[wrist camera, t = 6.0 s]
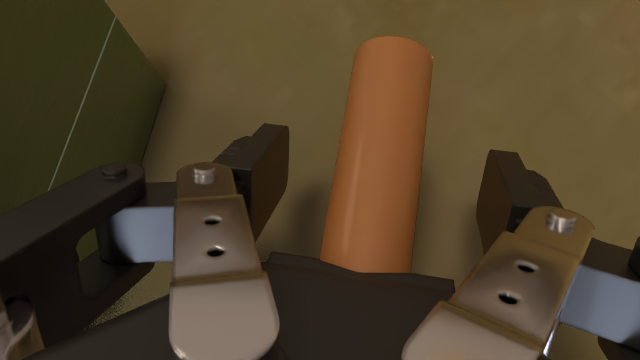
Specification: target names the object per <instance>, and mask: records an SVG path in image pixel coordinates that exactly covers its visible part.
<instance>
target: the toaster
mask: <svg viewBox="0 0 640 360" xmlns="http://www.w3.org/2000/svg"><path fill="white" fill-rule="evenodd" d="M165 86H166V84H165V82H164V81H163V80H162V78H161V77H160V76H159V74H158V73H157V72H156V70H155V69H154V68H153V66H152V65H151V64H150V62H149V61H148V59H147V58H146V57H145V55H144V54H143V53H142V51H141V50H140V49H139V47H138V46H137V45H136V43H135V42H134V41H133V39H132V38H131V37H130V35H129V34H128V32H127V31H126V30H125V28H124V27H123V26H122V24H121V23H120V22H119V20H118V19H117V18H116V17H115V15H114V13H113V12H112V11H111V9H110V8H109V7H108V5H107V4H106V2H105V1H104V0H0V215H2V214H4V213H6V212H8V211H10V210H12V209H14V208H16V207H18V206H20V205H22V204H24V203H26V202H28V201H30V200H32V199H34V198H36V197H38V196H40V195H42V194H44V193H46V192H48V191H50V190H52V189H54V188H56V187H58V186H60V185H62V184H64V183H66V182H68V181H70V180H72V179H74V178H76V177H78V176H80V175H82V174H84V173H86V172H88V171H90V170H92V169H94V168H96V167H99V166H102V165H107V164H112V163H130V164H135V165H138V166H140V164H141V161H142V157H143V154H144V151H145V148H146V145H147V142H148V139H149V136H150V133H151V129H152V126H153V123H154V120H155V117H156V114H157V111H158V108H159V105H160V102H161V98H162V95H163V92H164V89H165ZM97 249H98V243H97V237H96V232H95V228H93V229H92V230H90V231H89V232H87V233H86V234H84V235H83V236H82V237H81V239H80V240H79V242H78V244H77V247H76V259H77V263H79V262H80V261H82V260H83V259H85V258H86V257H87V256H89V255H90V254H92V253H93V252H94V251H96V250H97ZM87 328H88V326H87V327H86V328H85V329H84V330H83V331H86V330H87ZM83 331H82V332H83ZM80 333H81V332H80Z"/></svg>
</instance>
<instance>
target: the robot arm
mask: <svg viewBox="0 0 640 360" xmlns="http://www.w3.org/2000/svg"><path fill="white" fill-rule="evenodd" d="M288 161H289V128H288V126H283V125H274V124H266V123H264V124H263V125H262V126H261V127H260V128H259V129H258V130H257V131H256V132H255V133H254V134H253V135H252V136H251V137H250V136H245V137H243V138H240V139H238V140H235V141H233V142H232V143H231V144H230V145H229V146H228V147H227V149H225V150H224V151H223V152H222V154H220V155H219V156H218V157H217V158H216V159H215V160H214V161H213V162H202V163H194V164H190V165H187V166H185V167H183V168H181V169H180V170H179V171H178V172H177V179H176V182H158V183H146V180H145V171H144V169H143V168H142V167H141V166H138V165H135V164H130V163H112V164H107V165H102V166H99V167H96V168H94V169H92V170H90V171H88V172H86V173H84V174H82V175H80V176H78V177H76V178H74V179H72V180H70V181H68V182H66V183H64V184H62V185H60V186H58V187H56V188H54V189H52V190H50V191H48V192H46V193H44V194H42V195H40V196H38V197H36V198H34V199H32V200H30V201H28V202H26V203H24V204H22V205H20V206H18V207H16V208H14V209H12V210H10V211H8V212H6V213H4V214H2V215H0V360H551V359H549V358H548V357H549V355H550V352H551V350H552V347H553V345H554V342H555V340H556V337H557V335H558V332H559V330H560V327H561V324H562V323H564V324H567V325H570V326H573V327H575V328H578V329H581V330H584V331H586V332H589V333H592V334H595V335H597V336H598V344H599V346H600V348H601V349H602V351H603V353H604V354H605V356H606V357H607V359H608V360H640V237H638V238H637V241H636V243H635V246H634V248H633V250H630V249H626V248H623V247H619V246H616V245H612V244H609V243H605V242H602V241H600V240H597V239H595V238H593V237H592V236H593V233H594V230H595V228H594V225H593V224H592V223H591V222H590V221H589V220H588V219H587V218H585V217H584V216H582V215H580V214H578V213H576V212H573V211H570V210H567V209H564V208H563V206H562V205H561V203H560V201H559V200H558V198H557V196H555V193H554V191H553V189H551V186H550V184H549V183H548V181H547V179H545V178H544V177H543V176H541V175H540V174H538V173H537V172H535V171H532V170H526V168H525V166H524V164H523V162H522V160H521V158H520V157H519V155H518V153H517V152H508V151H499V150H490V151H489V153H488V156H487V160H486V165H485V169H484V174H483V178H482V183H481V187H480V192H479V196H478V201H477V209H476V218H477V223H478V227H479V232H480V236H481V241H482V245H483V250H484V254H485V255H484V256H483V257H482V259H481V260H480V261H479V262H478V264H477V265H476V266H475V267H474V269H473V270H472V271H471V273H470V274H469V275H468V276H467V278H466V279H465V280H464V282H463V283H462V284H461V285H460V287H459V288H458V289H457V291H456V292H455V286H454V280H452V279H445V278H439V277H432V276H426V275H419V274H413V273H362V272H356V271H352V270H349V269H346V268H343V267H340V266H337V265H334V264H331V263H328V262H325V261H322V260H319V259H315V258H310V257H303V256H297V255H291V254H284V253H278V252H271V254H270V256H269V258H268V260H267V262H263V263H260V260H259V256H258V252H257V248H256V244H255V242H256V240H257V238H258V237H259V235H260V233H261V231H262V230H263V228H264V226H265V225H266V223H267V221H268V219H269V218H270V216H271V214H272V213H273V211H274V209H275V208H276V206H277V204H278V202H279V201H280V199H281V197H282V196H283V194H284V192H285V189H286V186H287V180H288ZM93 228H95V232H96V237H97V243H98V249H97V250H96V251H94V252H93V253H92V254H90V255H89V256H87V257H86V258H85V259H83V260H82V261H80V262H79V263H77V259H76V247H77V244H78V242H79V240H80V239H81V237H82V236H83V235H84V234H86V233H87V232H89V231H90V230H92V229H93ZM165 261H172V281H171V282H170V294H167V295H165V296H163V297H161V298H158V299H156V300H154V301H151V302H149V303H147V304H145V305H142V306H140V307H138V308H136V309H133V310H131V311H129V312H126V313H124V314H122V315H120V316H117V317H115V318H113V319H111V320H108V321H106V322H104V323H101V324H99V325H97V326H95V327H92V328H90V329H88V330H86V331H83V330H84V329H85V328H86V327H87V326H88V325H90V324H91V323H92V322H93V321H94V320H95V319H96V318H97V317H99V316H100V315H101V314H102V313H103V312H104V311H105V310H107V309H108V308H109V307H110V306H111V305H112V304H113V303H115V302H116V301H117V300H118V299H119V298H120V297H121V296H122V295H124V294H125V293H126V292H127V291H128V290H129V289H130V288H132V287H133V286H134V285H135V284H136V283H137V282H138V281H140V280H141V279H142V278H143V277H144V276H145V275H146V274H148V273H149V272H150V271H151V270H152V268H153V267H154V265H155V262H165ZM82 331H83V332H82ZM80 332H81V333H80Z"/></svg>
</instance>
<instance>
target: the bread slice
mask: <svg viewBox="0 0 640 360" xmlns="http://www.w3.org/2000/svg"><path fill="white" fill-rule="evenodd" d="M432 68H433V57H432V56H431V54H430V52H429V51H428V50H427V49H426V48H425V47H424V46H423V45H421V44H420V43H418V42H416V41H414V40H411V39H408V38H404V37H398V36H382V37H377V38H373V39H370V40H368V41H366V42H364V43H363V44H362V45H361V46H360V47H359V48H358V49H357V51H356V53H355V56H354V62H353V68H352V73H351V79H350V85H349V91H348V97H347V102H346V108H345V114H344V120H343V125H342V131H341V137H340V143H339V149H338V154H337V160H336V166H335V172H334V177H333V183H332V189H331V195H330V200H329V206H328V212H327V218H326V224H325V229H324V235H323V241H322V247H321V252H320V258H319V260H322V261H325V262H328V263H331V264H334V265H337V266H340V267H343V268H346V269H349V270H352V271H356V272H362V273H410V272H411V263H412V253H413V244H414V235H415V225H416V216H417V207H418V198H419V188H420V179H421V170H422V160H423V151H424V142H425V133H426V123H427V114H428V105H429V95H430V86H431V77H432Z"/></svg>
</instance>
